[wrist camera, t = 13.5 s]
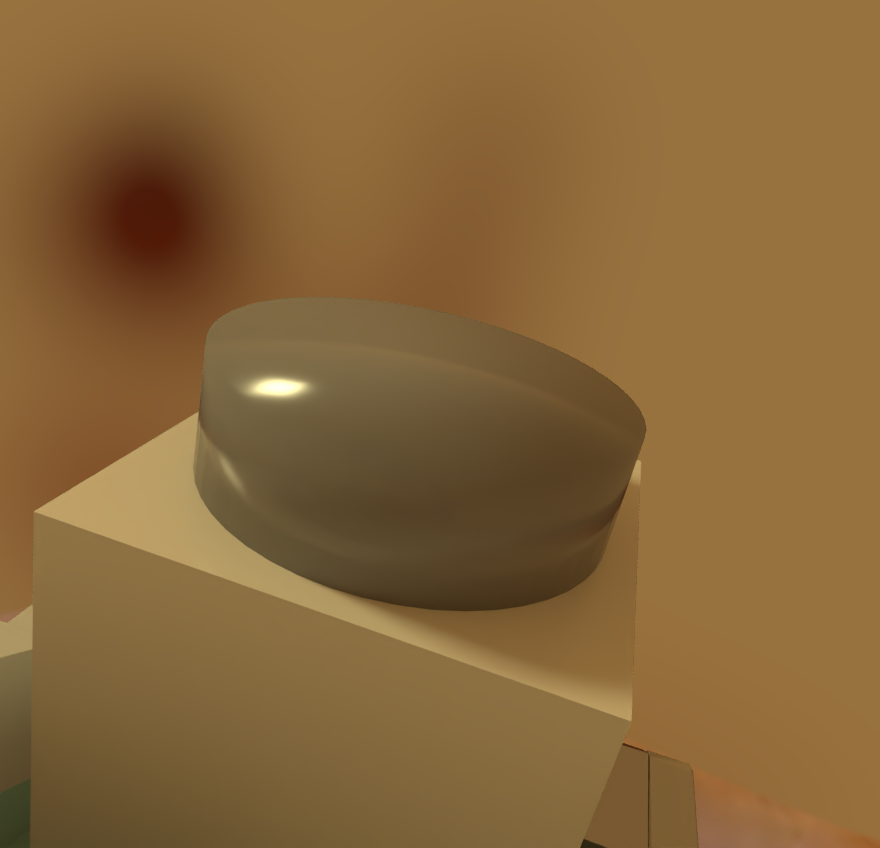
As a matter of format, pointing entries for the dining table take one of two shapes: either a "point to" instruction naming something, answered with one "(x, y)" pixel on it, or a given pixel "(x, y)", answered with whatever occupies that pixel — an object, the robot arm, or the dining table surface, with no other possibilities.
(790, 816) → the dining table surface
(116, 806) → the shaker
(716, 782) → the dining table surface
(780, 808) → the dining table surface
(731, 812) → the dining table surface
